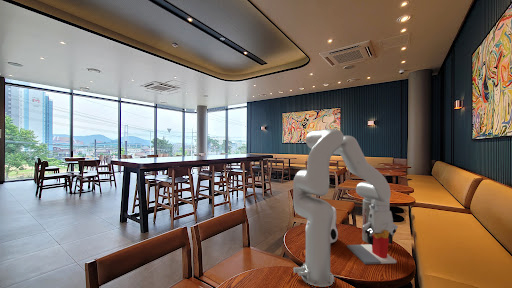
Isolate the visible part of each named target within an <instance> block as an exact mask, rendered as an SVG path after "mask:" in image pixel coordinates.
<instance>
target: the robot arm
mask: <svg viewBox="0 0 512 288" xmlns="http://www.w3.org/2000/svg"><path fill="white" fill-rule="evenodd" d="M305 143H306V145H307V147H308V148H310V151H309V153H308V155H307V161H306V162H307V163H306V169H300V170H298V171H297V172H296V173H295V176H293V177H294V178H293V182H292V188H293V189H292V190H293V191H292V197H293V198H292V199H293V202H292V203H293V209H294V211H295V213H296V214H297V215H298V216H300V217H302V218H305V219H306V220H307V219H308V220H309V221H310V223H309V225H308V227H307V229H306V228H305V259H304V260H305V262H304V263H303V264H302V265H301V266H300V267H297V266H295V267H293V273H295V274H296V273H297V275H298V277H301V278H302V280H303V282H305V284H307V283H308V284H307V285H309V284H310V285H314V286H319V287H326V286H330V285H332V284H333V282H334V283H335V276H334V275H333V273H332V272H331V244H330V234H331V224H332V219H333V208H332V207H333V206H332V205H331V204H330V203H329V202H328V201H326V200H324V199H323V198H318V197H324V196H326V195H327V194H328V193H329V189H330V161H331V159H332V156H333V155H340V157H341V159H342V161H343V163H345V166H346V168H347V170H348V171H349V172H350V173H351V174H353V175H354V176H356V177H359V178H360V179H362V180H364V181H361V182H358V183H357V185H356V187H355V193H356V194H357V195H358V196H359V197H361V198H363V199H364V198H368V199H371V205H369V208H371V209H370V212H369V219H368V223H366V224H365V225H363V224H362V225H361V227H363V229H364V231H365V232H366V234H367V241H368V243H367V244H371V245H373V236H372V235H373V234H374V233H384V232H383V231H384V230H385V231H388V232H389V235H388V238H389V242H388V244H390V245H393V240H394V239H393V238H394V236H395V233H396V232H397V229H398V227H399V226H398V225H397V224H395V223H394V218H393V213H392V211H391V210H390V207H391V206H390V205H391V204H390V202H391V201H390V199H391V195H392V193H391V186H390V183H388V180H387V179H386V178H385V176H384V175H383V174H382V173H381V172H380V171H379V170H377V169H376V168H375V167H374V166H373V165H372V164H370V163H369V162H368V160H367V159H366V156H365V154H364V153H363V151H362V148H361V147H360V145H359V142H358V140H357V139H356V138H355V137H354V136H352V135H344V133H343V132H342V131H341V130H339V129H336V128H329V129H327V128H326V129H318V130H317V129H316V130H311V131H309V132H308V133H307V135H306V137H305ZM315 196H317V197H315ZM367 228H369V229H368V230H367ZM310 285H309V286H310ZM333 285H334V284H333ZM333 285H332V286H333Z"/></svg>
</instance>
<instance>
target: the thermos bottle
mask: <svg viewBox="0 0 512 288" xmlns="http://www.w3.org/2000/svg"><path fill="white" fill-rule="evenodd" d="M369 205H371V199H368V198H364V197H363V199H362V226H363V225H365V224H366V223H368V219H369V212H370V209H371V208H369ZM362 226H361V227H362ZM361 229H362V230H361V231H362V232H361V234H362V235H361V236H362V237H361V238H362V241H363V242H365V243H367V244H369V243H368V241H367V234H366V232H365V231H364V229H363V227H362V228H361ZM368 229H369V228H367V230H368Z"/></svg>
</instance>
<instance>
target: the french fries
mask: <svg viewBox="0 0 512 288" xmlns="http://www.w3.org/2000/svg"><path fill="white" fill-rule="evenodd" d="M383 232H384V233H374V234H373V235H372V236H373V245H372V252H373V253H374V254H375V255H377V256H379V257H381V258H387V254H388V251H389V250H388V249H389V243H388V242H389V238H388V235H389V232H388V231H385V230H384V231H383Z"/></svg>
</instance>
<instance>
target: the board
mask: <svg viewBox="0 0 512 288" xmlns="http://www.w3.org/2000/svg"><path fill="white" fill-rule="evenodd" d="M346 248H347V249H348V250H350V252H352V254H353V255H354V256H355V257H357V258H358V259H359V260H360V261H361V262H362V263H363V264H364V265H380V264H386V265H387V264H397V260H396V259H395V258H394V257H392V256H390V254H388V253H387V258H381V257H379V256H377V255H375V254H374V253H373V252H372V245H371V244H370V243H367V244H346Z"/></svg>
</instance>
